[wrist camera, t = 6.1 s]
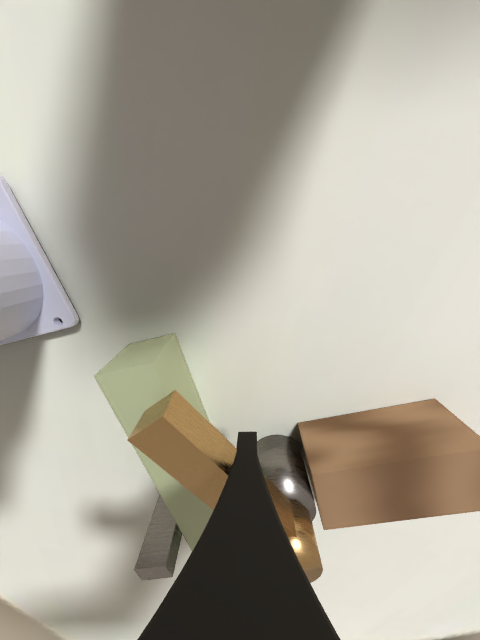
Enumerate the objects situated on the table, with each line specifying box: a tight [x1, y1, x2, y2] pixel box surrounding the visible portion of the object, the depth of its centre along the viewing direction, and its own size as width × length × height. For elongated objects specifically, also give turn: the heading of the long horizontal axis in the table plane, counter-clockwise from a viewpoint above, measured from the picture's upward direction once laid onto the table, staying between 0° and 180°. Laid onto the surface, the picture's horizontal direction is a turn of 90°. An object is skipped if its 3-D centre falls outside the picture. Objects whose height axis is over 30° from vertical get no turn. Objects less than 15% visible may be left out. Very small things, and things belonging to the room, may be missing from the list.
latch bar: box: [128, 390, 323, 583], centre depth 11 cm, size 12×3×2 cm, turn 38°
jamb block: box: [298, 399, 480, 530], centre depth 14 cm, size 9×5×4 cm, turn 105°
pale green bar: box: [94, 333, 213, 551], centre depth 15 cm, size 3×22×3 cm, turn 15°
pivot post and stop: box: [134, 435, 316, 580], centre depth 15 cm, size 11×4×5 cm, turn 105°
